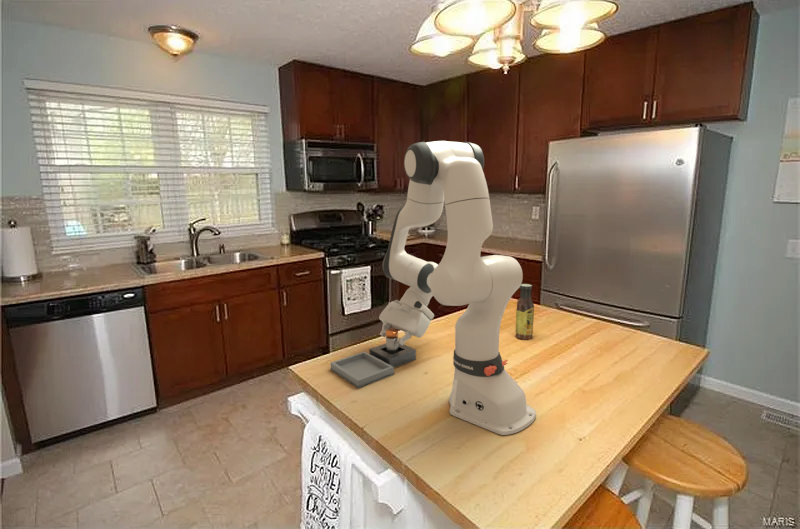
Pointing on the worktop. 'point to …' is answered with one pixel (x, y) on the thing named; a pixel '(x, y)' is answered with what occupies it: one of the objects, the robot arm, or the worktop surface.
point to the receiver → (394, 355)
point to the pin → (391, 341)
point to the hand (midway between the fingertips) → (390, 339)
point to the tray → (362, 369)
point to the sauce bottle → (525, 313)
